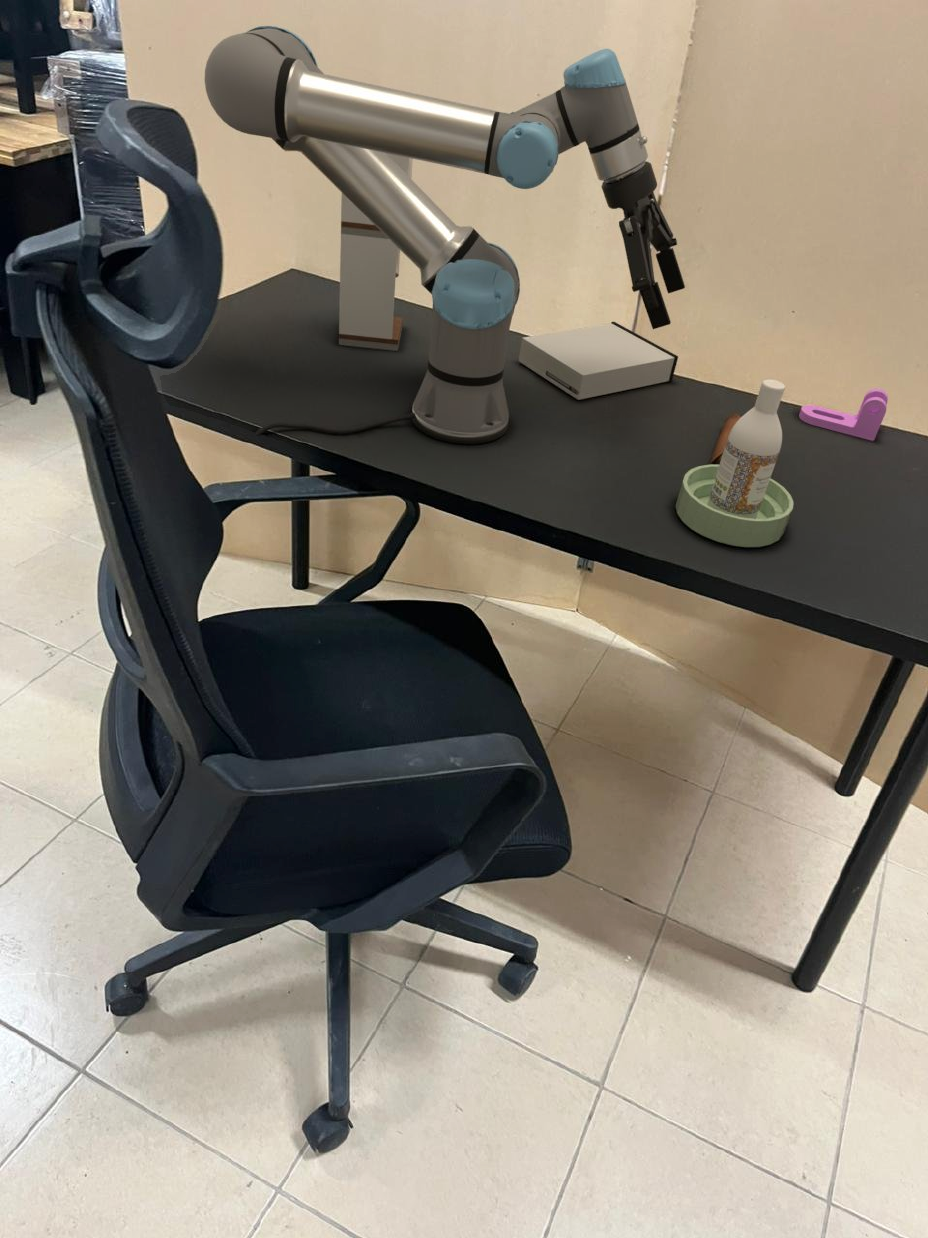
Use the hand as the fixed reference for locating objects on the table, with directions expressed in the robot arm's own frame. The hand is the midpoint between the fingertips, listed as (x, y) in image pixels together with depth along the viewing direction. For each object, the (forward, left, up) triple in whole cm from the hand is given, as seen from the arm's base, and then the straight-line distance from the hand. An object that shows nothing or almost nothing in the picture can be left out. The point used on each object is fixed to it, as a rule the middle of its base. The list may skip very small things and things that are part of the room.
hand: (669, 307), depth 140 cm
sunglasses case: (+14, -12, -18) cm, 26 cm away
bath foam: (+10, -31, -18) cm, 37 cm away
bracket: (+35, +6, -18) cm, 40 cm away
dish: (+10, -31, -18) cm, 37 cm away
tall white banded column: (-49, +19, -18) cm, 56 cm away
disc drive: (-8, +16, -18) cm, 25 cm away
